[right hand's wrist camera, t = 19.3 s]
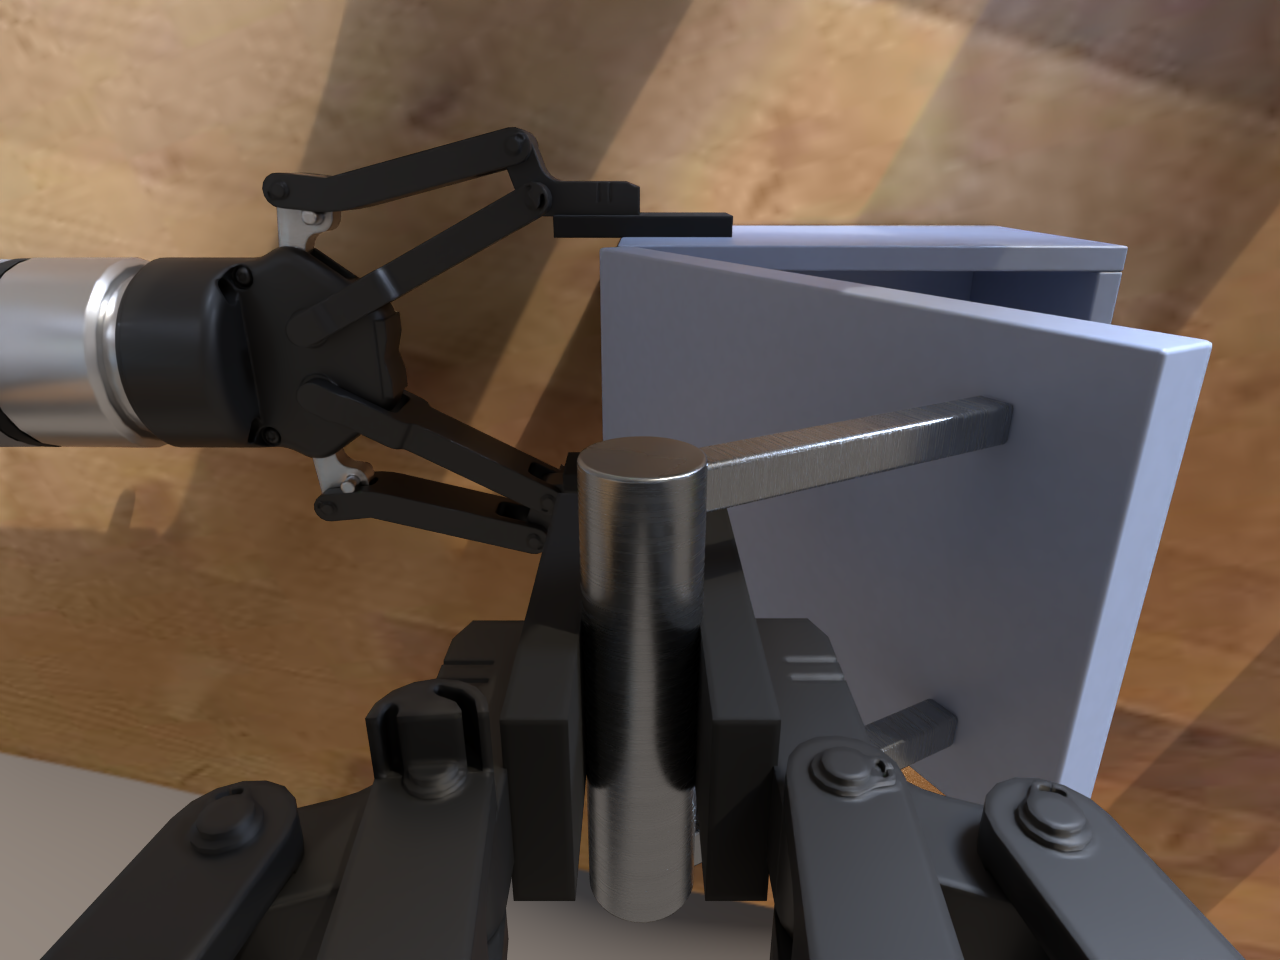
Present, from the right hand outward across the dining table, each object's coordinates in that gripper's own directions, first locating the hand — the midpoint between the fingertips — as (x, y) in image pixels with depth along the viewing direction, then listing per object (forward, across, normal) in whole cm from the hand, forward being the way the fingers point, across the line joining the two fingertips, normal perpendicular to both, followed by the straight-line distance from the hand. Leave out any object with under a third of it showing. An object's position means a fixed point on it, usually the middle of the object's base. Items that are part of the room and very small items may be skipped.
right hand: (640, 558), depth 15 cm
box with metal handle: (+5, +4, 0) cm, 6 cm away
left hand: (+18, +3, 0) cm, 18 cm away
